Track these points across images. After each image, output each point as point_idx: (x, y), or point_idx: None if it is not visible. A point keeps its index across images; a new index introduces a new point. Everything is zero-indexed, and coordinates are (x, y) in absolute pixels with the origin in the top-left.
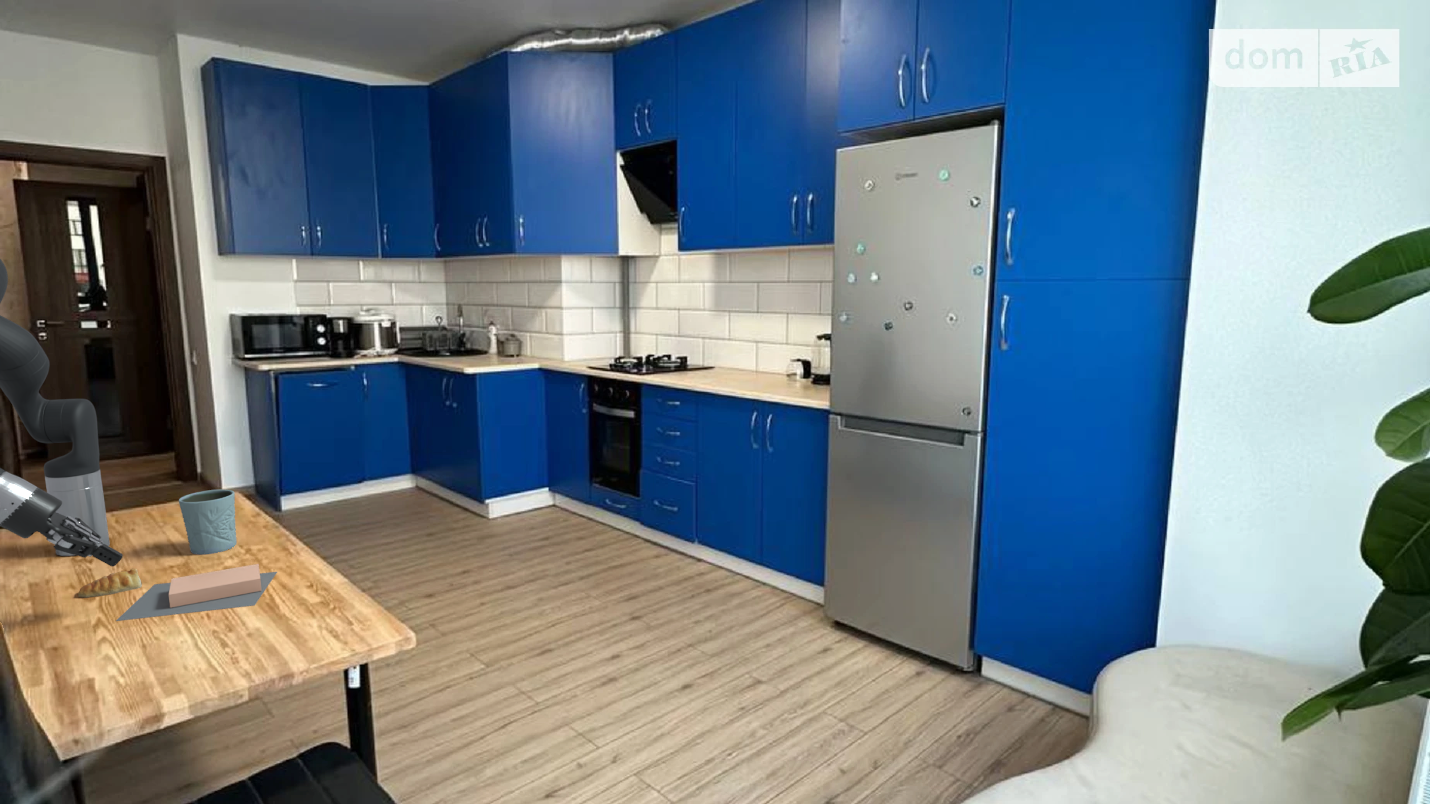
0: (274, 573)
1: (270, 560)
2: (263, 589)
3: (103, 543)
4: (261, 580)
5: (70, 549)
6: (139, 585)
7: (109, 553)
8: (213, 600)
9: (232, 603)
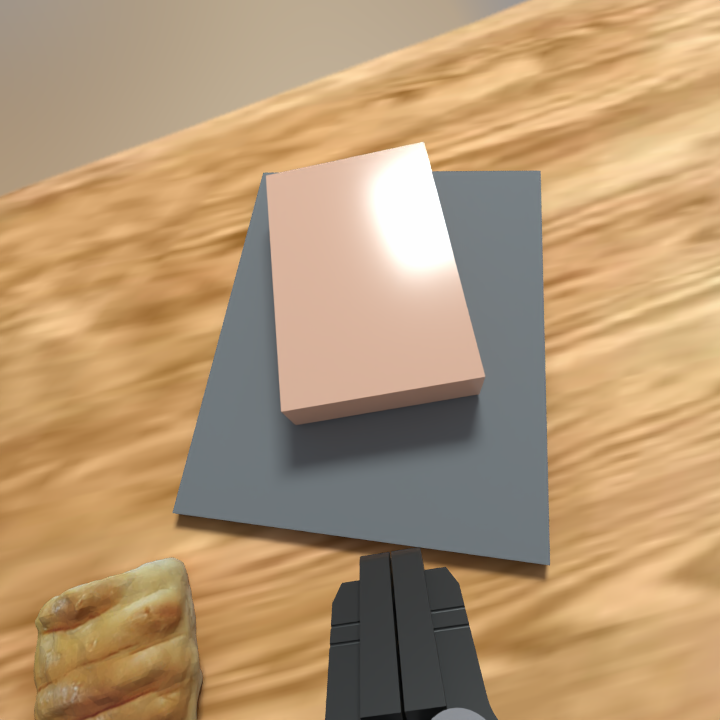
0: None
1: (122, 220)
2: None
3: (364, 717)
4: None
5: None
6: (177, 562)
7: (449, 629)
8: None
9: (502, 226)
